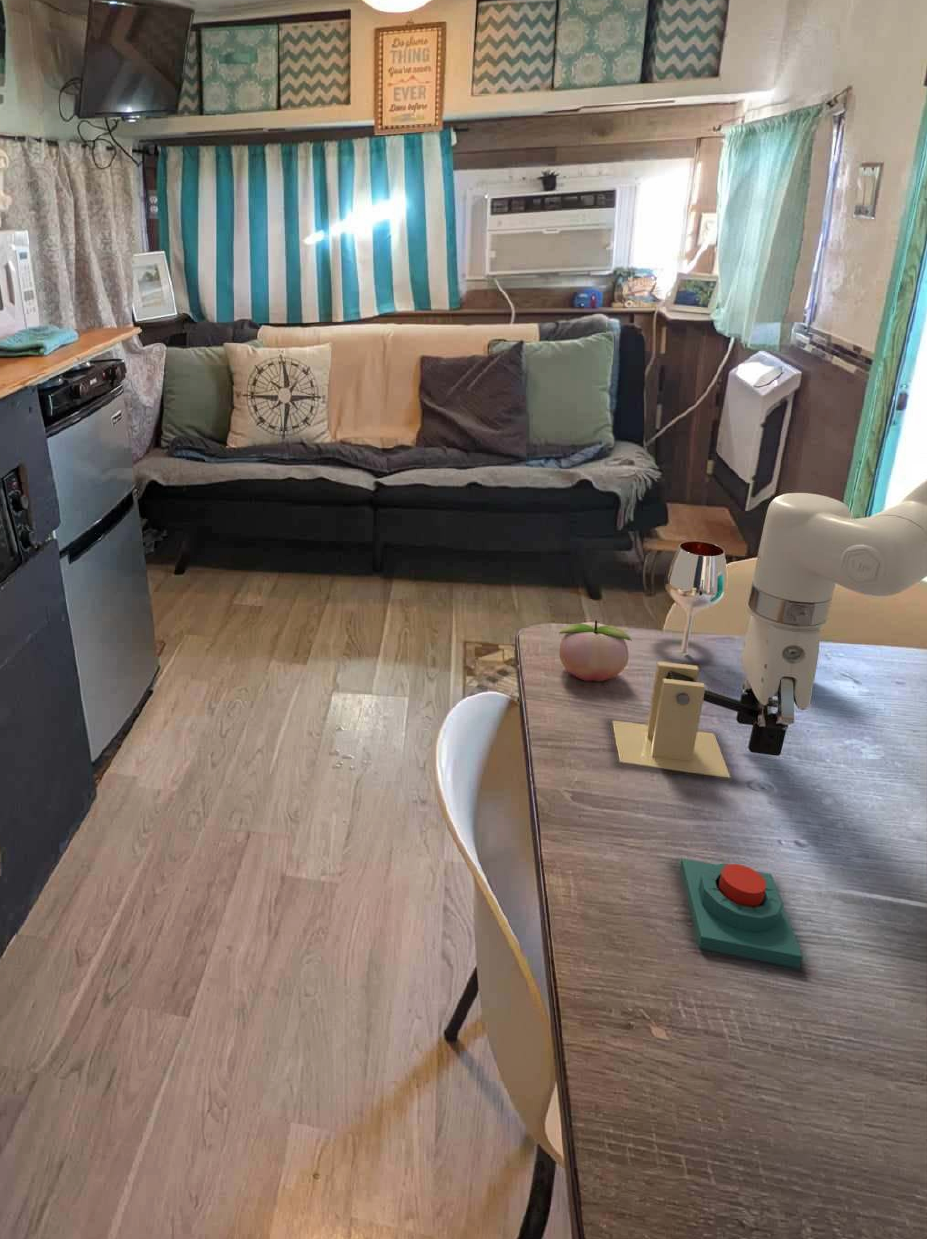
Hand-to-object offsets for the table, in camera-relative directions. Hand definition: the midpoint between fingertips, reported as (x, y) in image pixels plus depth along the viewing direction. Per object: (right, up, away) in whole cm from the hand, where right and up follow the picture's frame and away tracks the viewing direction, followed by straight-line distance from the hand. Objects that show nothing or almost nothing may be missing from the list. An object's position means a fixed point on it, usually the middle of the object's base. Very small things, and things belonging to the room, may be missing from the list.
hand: (757, 736), depth 97 cm
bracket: (-9, -4, +4) cm, 10 cm away
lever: (-5, +3, 0) cm, 6 cm away
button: (-15, -9, -20) cm, 27 cm away
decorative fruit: (-11, +3, +21) cm, 24 cm away
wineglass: (+5, +5, +26) cm, 27 cm away
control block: (-15, -13, -19) cm, 27 cm away
